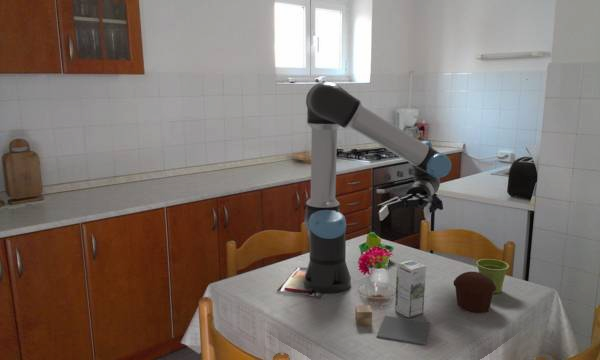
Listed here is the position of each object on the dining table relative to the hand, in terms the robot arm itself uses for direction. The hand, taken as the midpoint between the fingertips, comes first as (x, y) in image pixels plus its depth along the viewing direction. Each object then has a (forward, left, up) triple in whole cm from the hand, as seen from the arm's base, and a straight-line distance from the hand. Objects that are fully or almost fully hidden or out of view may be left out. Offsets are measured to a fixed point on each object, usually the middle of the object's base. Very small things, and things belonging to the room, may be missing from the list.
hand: (402, 215), depth 142 cm
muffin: (+21, +1, -26) cm, 34 cm away
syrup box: (+4, -9, -26) cm, 28 cm away
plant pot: (+26, +15, -26) cm, 40 cm away
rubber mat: (+4, -20, -26) cm, 33 cm away
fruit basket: (-14, +31, -26) cm, 43 cm away
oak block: (-7, -19, -26) cm, 33 cm away
